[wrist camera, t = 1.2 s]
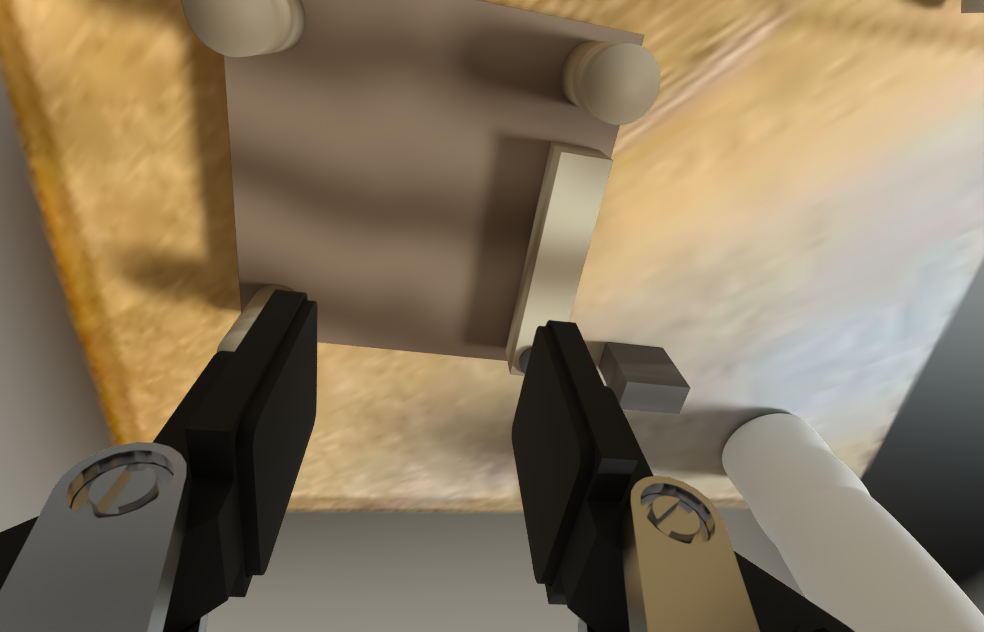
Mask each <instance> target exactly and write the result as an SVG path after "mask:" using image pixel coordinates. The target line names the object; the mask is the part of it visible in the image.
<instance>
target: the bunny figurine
mask: <svg viewBox="0 0 984 632" xmlns="http://www.w3.org/2000/svg"><path fill="white" fill-rule="evenodd" d="M961 13H984V0H961Z"/></svg>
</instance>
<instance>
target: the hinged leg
mask: <svg viewBox="0 0 984 632" xmlns="http://www.w3.org/2000/svg"><path fill="white" fill-rule="evenodd" d="M612 163H613V160H612V159H610V158H609V157H608V156H607V155H605V154H604V153H603V152H601V151H600V150H598V149H592V148H586V147H581V146H575V145H569V144H563V143H557V142H551V145H550V150H549V155H548V159H547V164H546V168H545V173H544V177H543V182H542V187H541V191H540V196H539V200H538V205H537V209H536V214H535V219H534V223H533V228H532V232H531V237H530V241H529V246H528V251H527V255H526V260H525V264H524V269H523V273H522V278H521V283H520V287H519V292H518V296H517V301H516V306H515V310H514V315H513V319H512V324H511V328H510V333H509V338H508V342H507V347H506V355H507V360H508V365H509V371H510V374H511V375H522V376H525V373H526V369H527V365H528V361H529V357H530V353H531V348H532V344H533V340H534V336H535V332H536V329H537V327H538V326H545V325H546V323H547V321H549V320H554V321H563V322H568V321H569V317H570V313H571V310H572V306H573V303H574V299H575V295H576V292H577V288H578V285H579V281H580V278H581V274H582V270H583V267H584V263H585V260H586V256H587V252H588V249H589V245H590V242H591V238H592V234H593V231H594V227H595V224H596V220H597V216H598V213H599V209H600V206H601V202H602V198H603V195H604V191H605V188H606V184H607V181H608V177H609V173H610V170H611V166H612Z"/></svg>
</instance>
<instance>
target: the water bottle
mask: <svg viewBox="0 0 984 632" xmlns="http://www.w3.org/2000/svg"><path fill="white" fill-rule="evenodd" d="M722 464H723V467H724V470H725V472H726V474H727V475H728V477H729V479H730V480H731V482H732V483H733V485H734V486H735V487H736V489H737V490H738V491H739V493H740V494H741V495H742V496H743V498H744V499H745V500H746V501H747V502H748V504H749V506H750V508H751V511H752V513H753V514H754V516H755V518H756V520H757V522H758V523H759V525H760V526H761V528H762V529H763V531H764V532H765V533H766V535H767V536H768V537H769V538H770V539H771V540H772V542H773V543H774V544H775V545H777V547H778V549H779V551H780V553H781V555H782V557H783V559H784V561H785V562H786V564H787V566H788V568H789V570H790V572H791V573H792V575H793V577H794V578H795V580H796V582H797V583H798V585H799V587H800V588H801V590H802V592H803V593H804V595H805V597H806V598H807V599H808V600H809V601H811V602H812V603H814V604H815V605H817V606H818V607H820V608H821V609H823V610H824V611H826V612H827V613H829V614H830V615H832V616H833V617H835V618H836V619H838V620H839V621H841V622H842V623H844V624H845V625H847V626H848V627H850V628H851V629H852V630H853V631H855V632H984V616H983V615H982V613H981V612H980V611H979V610H978V608H977V607H976V606H975V605H974V604H973V603H972V602H971V600H970V599H969V598H968V597H967V596H966V594H965V593H964V592H963V591H962V590H961V589H960V588H959V587H958V585H957V584H956V583H955V582H954V581H953V580H952V579H951V578H950V576H949V575H948V574H946V572H945V571H944V570H943V569H942V568H941V567H940V566H939V564H938V563H937V562H936V561H935V560H934V559H933V558H932V557H931V556H930V555H929V554H928V553H927V551H926V550H925V549H924V548H923V547H922V546H921V545H920V544H919V543H918V542H917V541H916V540H915V539H914V538H913V537H912V536H911V535H910V534H909V533H908V532H907V530H906V529H905V528H904V527H903V526H901V524H899V522H898V521H897V520H896V519H895V518H894V517H892V516H891V515H890V514H889V513H888V512H887V511H886V510H885V509H884V508H883V507H882V506H881V505H880V504H879V503H877V502H876V501H875V500H874V499H873V498H872V497H871V496H870V494H869V492H868V491H867V489H866V488H865V486H864V485H863V483H862V482H861V481H860V480H859V478H858V477H857V476H856V475H855V474H854V473H853V472H852V471H851V470H850V469H849V468H848V467H847V466H846V465H845V464H844V463H843V462H842V461H841V460H839V459H838V458H837V457H836V456H834V454H833V453H832V452H831V450H830V448H829V447H828V446H827V444H826V443H825V442H824V440H823V439H822V438H821V437H820V436H819V435H818V433H817V432H816V431H815V430H814V429H813V428H812V427H811V426H810V425H809V424H808V423H807V422H806V421H804V420H803V419H801V418H800V417H797V416H794V415H790V414H783V413H777V414H768V415H764V416H760V417H757V418H755V419H753V420H751V421H749V422H747V423H745V424H744V425H742V426H741V427H740V428H738V429H737V430H736V431H735V432H734V433H733V434H732V435H731V437H730V438H729V439H728V441H727V443H726V444H725V447H724V449H723V453H722Z"/></svg>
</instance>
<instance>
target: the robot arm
mask: <svg viewBox="0 0 984 632" xmlns="http://www.w3.org/2000/svg"><path fill="white" fill-rule="evenodd" d="M317 313H318V308H317V302H316V301H311V300H308V297H307V294H306V293H304V292H295V291H287V290H278V289H276V290H275V291H274V292H273V293H272V295H271V297H270V298H269V300H268V301H267V303H266V304H265V306H264V307H263V309H262V310H261V312H260V313H259V315H258V316H257V318H256V320H255V321H254V323H253V324H252V326H251V327H250V329H249V330H248V332H247V333H246V335H245V336H244V338H243V340H242V341H241V343H240V344H239V346H238V347H237V349H236V350H235V352H234V351H224V350H222V351H218V352H217V353H216V354H215V355H214V356H213V358H212V359H211V361H210V362H209V363H208V365H207V366H206V368H205V369H204V370H203V372H202V373H201V375H200V376H199V378H198V379H197V380H196V382H195V383H194V385H193V386H192V387H191V389H190V390H189V392H188V393H187V395H186V396H185V397H184V399H183V400H182V402H181V403H180V404H179V406H178V407H177V409H176V410H175V412H174V413H173V414H172V416H171V417H170V419H169V420H168V421H167V423H166V424H165V426H164V427H163V429H162V430H161V431H160V433H159V434H158V436H157V437H156V438H155V440H154V441H153V443H141V442H137V443H131V444H124V445H118V446H115V447H112V448H109V449H106V450H103V451H100V452H97V453H95V454H94V455H92V456H90V457H88V458H86V459H84V460H82V461H80V462H79V463H77V464H76V465H75V466H74V467H72V468H71V469H70V470H69V471H67V472H66V473H65V474H64V475H63V476H62V477H61V479H60V480H59V481H58V483H57V484H56V485H55V487H54V488H53V490H52V492H51V494H50V496H49V498H48V500H47V501H46V504H45V505H44V507H43V509H42V511H41V513H40V515H39V516H38V517H36V518H33V519H31V520H28V521H26V522H24V523H21V524H19V525H17V526H14V527H12V528H10V529H7V530H5V531H3V532H0V632H206V628H207V622H208V613H209V612H210V611H212V610H213V609H215V608H216V607H218V606H219V605H221V604H222V603H224V602H226V601H227V600H228V598H229V597H245V596H246V593H247V590H248V587H249V584H250V582H251V579H252V576H253V575H264V573H265V571H266V569H267V566H268V563H269V560H270V557H271V554H272V551H273V548H274V545H275V542H276V539H277V536H278V533H279V530H280V527H281V524H282V521H283V518H284V515H285V512H286V509H287V506H288V503H289V500H290V496H291V493H292V490H293V487H294V484H295V481H296V478H297V475H298V472H299V469H300V466H301V463H302V460H303V457H304V454H305V451H306V448H307V445H308V442H309V439H310V436H311V433H312V430H313V426H314V422H315V417H316V398H317ZM512 444H513V450H514V456H515V462H516V468H517V474H518V480H519V486H520V492H521V498H522V504H523V510H524V516H525V522H526V527H527V534H528V539H529V546H530V552H531V558H532V564H533V570H534V575H535V579H536V582H537V583H538V584H545V586H546V592H547V597H548V602H549V604H564V605H567V606H568V608H569V609H570V610H571V611H572V612H573V613H575V614H576V615H577V616H578V617H579V622H578V632H855V631H853V630H852V629H851V628H850V627H848V626H847V625H845V624H844V623H842V622H841V621H839V620H838V619H836V618H835V617H833V616H832V615H830V614H829V613H827V612H826V611H824V610H823V609H821V608H820V607H818V606H817V605H815V604H814V603H812V602H811V601H809V600H808V599H806V598H805V597H803V596H801V595H800V594H798V593H797V592H795V591H794V590H792V589H791V588H789V587H788V586H786V585H785V584H783V583H782V582H780V581H779V580H777V579H776V578H774V577H773V576H771V575H770V574H768V573H767V572H765V571H764V570H762V569H760V568H759V567H757V566H756V565H754V564H753V563H751V562H750V561H748V560H747V559H745V558H744V557H742V556H741V555H739V554H738V553H736V552H735V551H733V548H732V545H731V541H730V539H729V535H728V532H727V529H726V526H725V523H724V521H723V519H722V517H721V515H720V513H719V511H718V510H717V508H716V507H715V506H714V505H713V504H712V502H711V501H710V500H709V499H708V498H707V497H705V496H704V495H703V494H702V493H700V492H699V491H698V490H697V489H695V488H693V487H691V486H690V485H688V484H686V483H684V482H682V481H679V480H676V479H673V478H670V477H663V476H653V474H652V472H651V470H650V468H649V466H648V464H647V461H646V459H645V457H644V455H643V453H642V451H641V449H640V447H639V444H638V442H637V440H636V438H635V436H634V434H633V432H632V430H631V427H630V425H629V423H628V421H627V419H626V417H625V415H624V413H623V410H622V408H621V406H620V404H619V402H618V400H617V398H616V396H615V393H614V392H613V390H612V389H611V388H610V387H608V386H604V384H603V382H602V380H601V377H600V375H599V373H598V371H597V369H596V366H595V364H594V362H593V360H592V358H591V355H590V353H589V351H588V349H587V346H586V344H585V342H584V340H583V338H582V335H581V333H580V331H579V329H578V327H577V325H576V323H572V322H563V321H554V320H549V321H547V323H546V325H545V326H538V327H537V329H536V332H535V336H534V340H533V344H532V348H531V353H530V357H529V361H528V365H527V369H526V373H525V377H524V381H523V385H522V389H521V393H520V397H519V401H518V405H517V409H516V413H515V417H514V422H513V426H512Z"/></svg>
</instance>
